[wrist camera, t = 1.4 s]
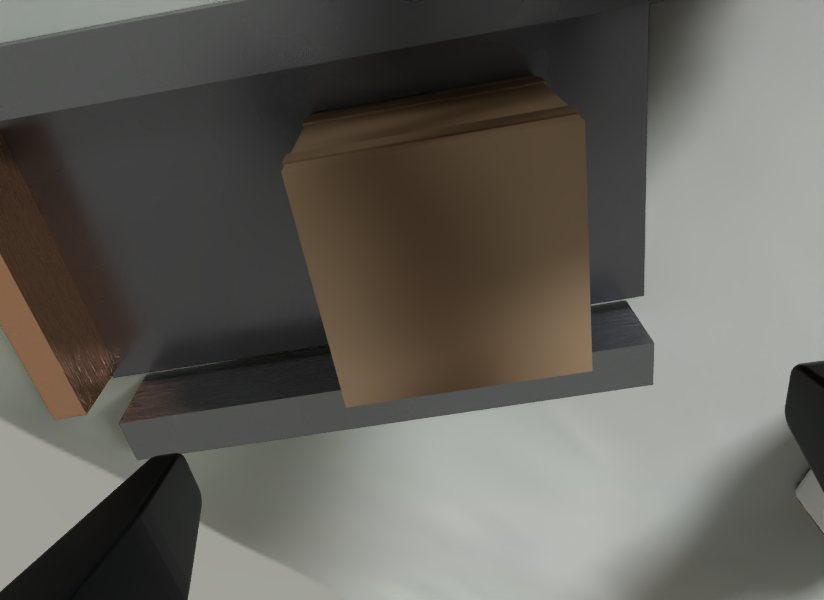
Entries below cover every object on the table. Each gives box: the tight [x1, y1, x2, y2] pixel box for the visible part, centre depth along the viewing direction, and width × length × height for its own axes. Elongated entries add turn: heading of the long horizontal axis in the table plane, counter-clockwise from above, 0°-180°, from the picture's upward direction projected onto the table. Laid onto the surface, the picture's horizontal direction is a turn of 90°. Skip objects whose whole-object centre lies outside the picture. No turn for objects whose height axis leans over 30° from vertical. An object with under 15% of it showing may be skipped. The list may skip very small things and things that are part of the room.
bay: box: [0, 0, 664, 460], centre depth 15 cm, size 20×17×6 cm
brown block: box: [281, 75, 593, 408], centre depth 16 cm, size 6×6×5 cm
